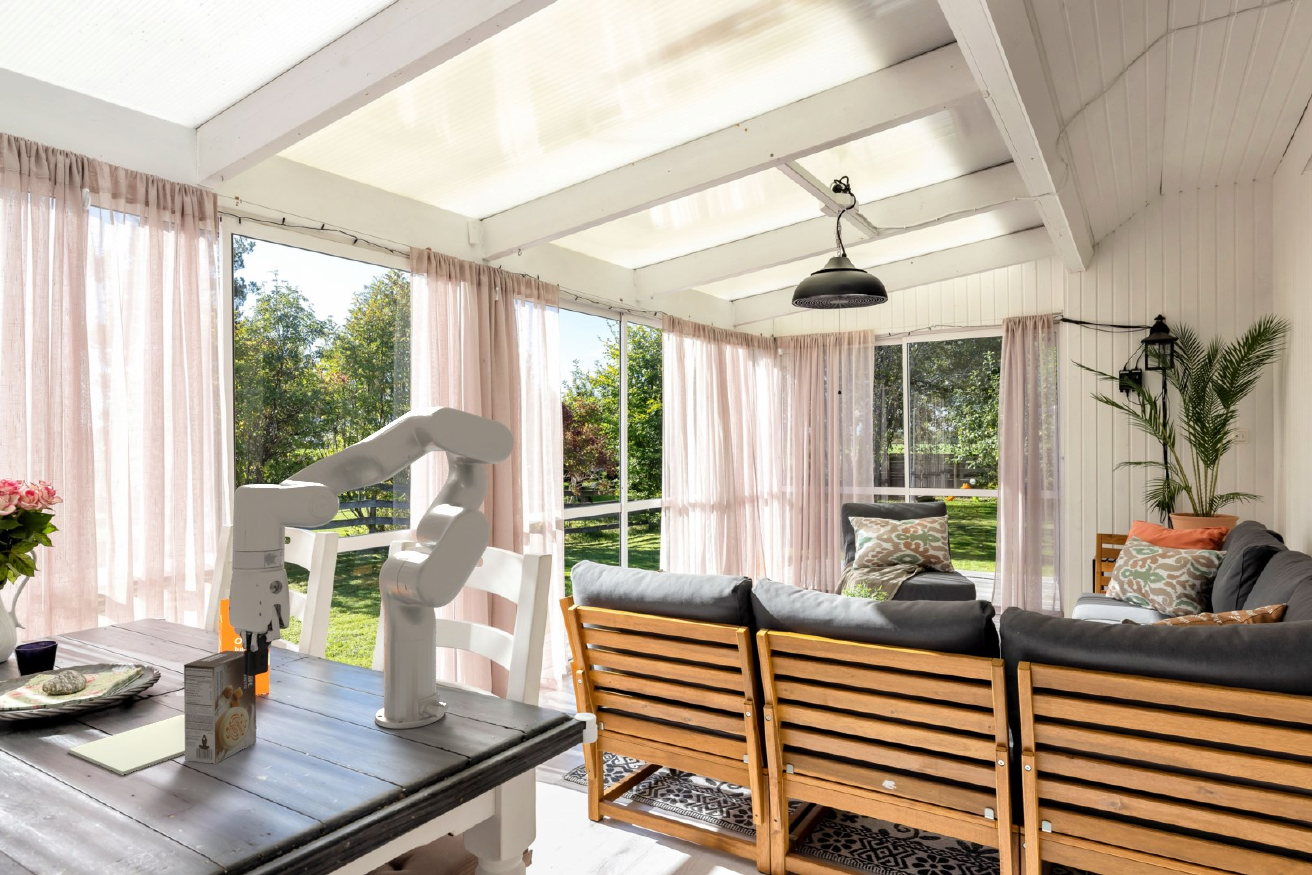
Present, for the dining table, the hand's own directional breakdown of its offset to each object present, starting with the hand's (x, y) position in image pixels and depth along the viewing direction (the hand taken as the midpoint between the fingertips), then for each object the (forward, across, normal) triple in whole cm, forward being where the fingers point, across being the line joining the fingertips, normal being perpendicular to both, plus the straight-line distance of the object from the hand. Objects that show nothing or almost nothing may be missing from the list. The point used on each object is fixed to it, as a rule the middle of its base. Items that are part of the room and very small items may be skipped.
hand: (255, 673), depth 122 cm
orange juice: (+15, +37, -21) cm, 45 cm away
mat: (+15, +24, +1) cm, 28 cm away
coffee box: (+15, +10, -1) cm, 19 cm away
